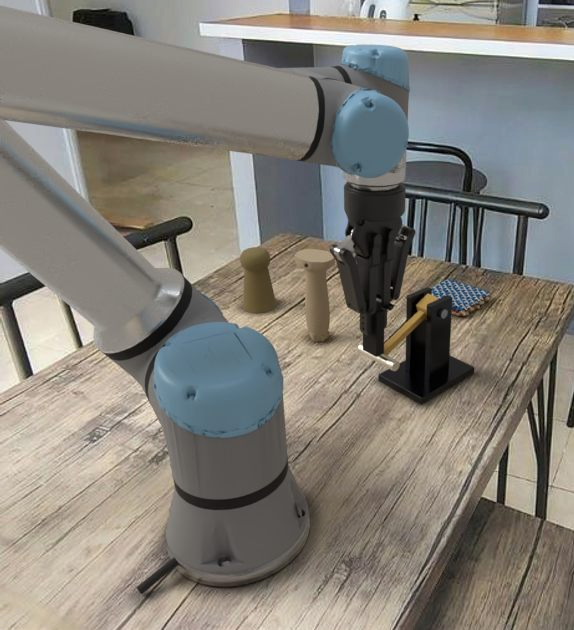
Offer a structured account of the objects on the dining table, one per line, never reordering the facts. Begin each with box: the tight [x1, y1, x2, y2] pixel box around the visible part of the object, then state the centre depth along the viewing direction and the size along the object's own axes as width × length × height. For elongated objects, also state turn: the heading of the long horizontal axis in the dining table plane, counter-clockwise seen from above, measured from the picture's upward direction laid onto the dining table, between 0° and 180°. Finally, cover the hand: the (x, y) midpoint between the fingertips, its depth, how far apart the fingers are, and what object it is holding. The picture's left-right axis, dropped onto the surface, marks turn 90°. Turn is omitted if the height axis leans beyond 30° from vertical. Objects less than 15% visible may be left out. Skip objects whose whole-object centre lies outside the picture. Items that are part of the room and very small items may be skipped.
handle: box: [294, 248, 336, 343], centre depth 111 cm, size 5×6×15 cm
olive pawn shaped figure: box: [239, 246, 277, 314], centre depth 122 cm, size 6×6×11 cm
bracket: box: [377, 286, 475, 406], centre depth 101 cm, size 12×9×14 cm
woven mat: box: [431, 278, 491, 317], centre depth 127 cm, size 10×11×2 cm
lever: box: [357, 294, 439, 371], centre depth 97 cm, size 13×7×2 cm, turn 137°
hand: (373, 351), depth 93 cm, fingers closed
